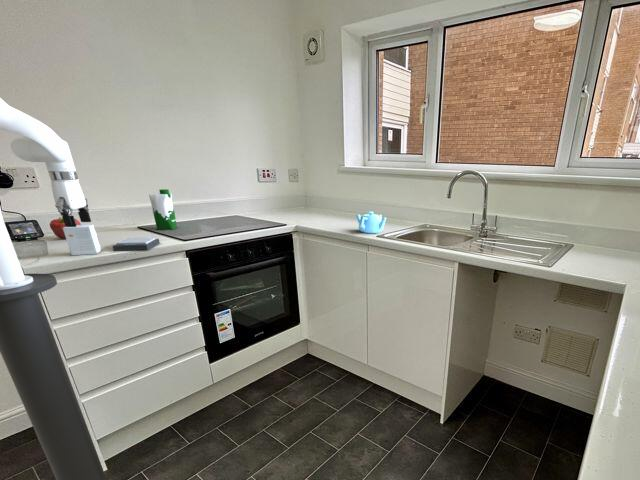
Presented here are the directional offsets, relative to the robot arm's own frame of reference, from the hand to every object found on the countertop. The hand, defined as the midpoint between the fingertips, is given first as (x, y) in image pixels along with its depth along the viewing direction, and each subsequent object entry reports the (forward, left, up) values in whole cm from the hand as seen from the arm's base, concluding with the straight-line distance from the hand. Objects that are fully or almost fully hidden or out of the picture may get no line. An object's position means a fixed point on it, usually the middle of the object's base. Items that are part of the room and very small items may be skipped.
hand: (79, 224), depth 132 cm
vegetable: (+30, +21, -11) cm, 38 cm away
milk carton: (+53, -11, -11) cm, 55 cm away
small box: (0, 0, -11) cm, 11 cm away
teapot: (+39, -119, -11) cm, 126 cm away
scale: (+9, -14, -11) cm, 20 cm away
